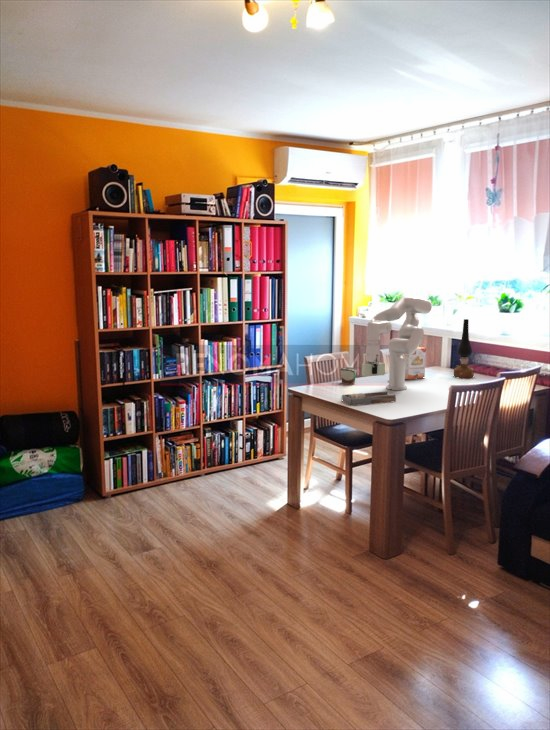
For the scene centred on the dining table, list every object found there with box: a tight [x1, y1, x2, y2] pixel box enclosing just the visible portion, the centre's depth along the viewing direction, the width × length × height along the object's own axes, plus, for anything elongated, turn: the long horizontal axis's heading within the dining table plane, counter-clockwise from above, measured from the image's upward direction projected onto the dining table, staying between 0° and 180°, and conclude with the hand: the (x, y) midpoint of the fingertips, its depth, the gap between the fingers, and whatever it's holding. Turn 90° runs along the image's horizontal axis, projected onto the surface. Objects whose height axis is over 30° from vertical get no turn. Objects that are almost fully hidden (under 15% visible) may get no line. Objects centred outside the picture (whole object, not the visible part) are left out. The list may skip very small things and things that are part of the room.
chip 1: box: [348, 393, 358, 399], centre depth 333 cm, size 4×4×4 cm
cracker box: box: [403, 346, 427, 380], centre depth 398 cm, size 14×6×21 cm, turn 114°
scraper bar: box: [361, 362, 386, 377], centre depth 350 cm, size 4×13×7 cm, turn 108°
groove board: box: [363, 391, 397, 404], centre depth 338 cm, size 11×15×4 cm
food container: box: [339, 366, 358, 386], centre depth 386 cm, size 12×6×10 cm, turn 43°
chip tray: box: [341, 393, 373, 406], centre depth 333 cm, size 12×13×4 cm
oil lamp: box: [453, 318, 475, 379], centre depth 400 cm, size 14×15×40 cm
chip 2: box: [356, 392, 365, 399], centre depth 334 cm, size 4×4×4 cm
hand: (372, 372), depth 351 cm, fingers closed on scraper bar, 4 cm apart
